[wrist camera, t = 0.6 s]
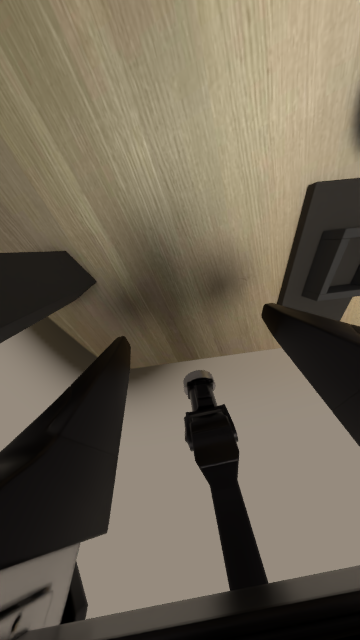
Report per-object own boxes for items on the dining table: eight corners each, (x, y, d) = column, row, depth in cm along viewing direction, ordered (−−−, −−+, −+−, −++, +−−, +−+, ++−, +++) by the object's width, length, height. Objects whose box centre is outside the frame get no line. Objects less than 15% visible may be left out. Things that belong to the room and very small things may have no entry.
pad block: (96, 281, 18) (-19, 337, 7) (74, 300, 19) (-61, 378, 8) (65, 250, 16) (-169, 256, 5) (42, 273, 17) (-201, 323, 6)
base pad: (331, 322, 25) (354, 333, 22) (269, 331, 25) (284, 342, 22) (405, 176, 16) (462, 159, 13) (308, 185, 16) (343, 169, 12)
